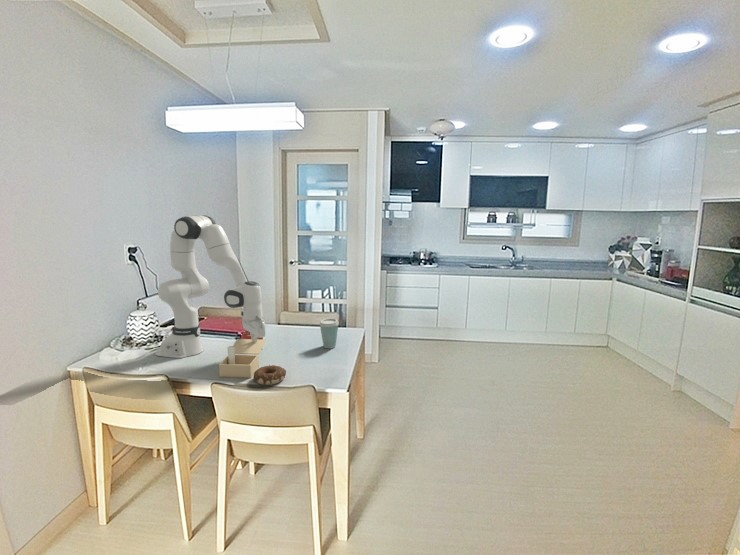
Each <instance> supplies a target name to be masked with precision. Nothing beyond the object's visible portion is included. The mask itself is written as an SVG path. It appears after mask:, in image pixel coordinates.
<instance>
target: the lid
mask: <svg viewBox="0 0 740 555" xmlns="http://www.w3.org/2000/svg"><path fill="white" fill-rule="evenodd" d="M265 343H266V339H263V340H262V339H257V342H253V341H252V339H241V338H237V339H236V340H235V342H234V344H233V345H232V346H234V347H235V355H260V354H261V351H263V348H264V345H265Z"/></svg>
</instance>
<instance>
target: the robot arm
mask: <svg viewBox="0 0 740 555" xmlns="http://www.w3.org/2000/svg"><path fill="white" fill-rule="evenodd" d="M173 229H174V230H173V231H172V232H171V236H170V243H169V252H170V253H169V254H170V255H169V256H170V265H171V267H172V269H174V270H175V271H176V272H180V274H181V278H176V279H174V278H173V279H169V280H167V281H164V282H162V283H160V284H159V286H158V289H157V295H158V297H159V299H160V300H161V301H163V302H164V303H166V304H168V306H169V307H170V308H171V310H172V313H173V317H174V318H173V319H174V326H172V327H171V328H170V329H169V330H170V332H172V333H171V334H169V335H168V336H167V337H166V338H164V339H163V340H162V341H161V343H160V348H159V349H158V350H157V351H156V352H155V356H156V357H157V356H158V357H166V358H174V359H183V358H186V357H190V356H192V357H193V356H196V355H198V354H201V353H203V351H204V347H203V344H202V340H201V327H200V323H199V322H200V321H199V311H198V309H197V308H196V307H195V306H192V305H190V304H189V302H188V300H190V299H196V298H200V297H202V296H204V295H206V294H207V293H208V291H209V290H210V283H209V281H208V280H207V278H206V277H204V276H203V274H201V273H200V272H199V269H198V267H197V262H196V252H195V251H196V249H195V242H196V240H197V239H200V240H202V241H203V243H204V246H205V250H206V252H207V254H208V256H209V259H210V260H211V262H213V264H215V265H217V266H220V267H224V268H225V269H227V270H228V271H229V272H230V273H231V276H232V278H233V280H234V283H235V285H236V287H233V288H230V289H228V290H227V291H226V292H224V295H223V301H224V303H225V305H226V306H227V307H229V308H230V309H237V308H242V309H243V310H241V311H240V315H241V320H242V322H241V323H242V327H243V329H244V330H246V331H247V332H248V333H250V335H251V339H252V341H253V342H257V337H258V338H261V337H263V338H264V337H266V326H265V322H264V321H263V320H262V319H263V316H264V315H263V305H262V300H263V296H262V295H263V293H262V288H261V285H260V284H259V283H258V282H256V281H252V280H251V281H250V280H249V279H248V277H247V274H246V271H244V268H243V266H242V264H241V261H240V259H239V258H238V257H237V255H236V254H235V252H234V250H233V248H232V246H231V242H230V240H229V238H228V235H227V234H226V232H225V230H224V228H223V227H222V226H221V225H220V224H217V223H216V222H215V220H214V219H213V218H212V217H211V216H208V215H200V214H199V215H197V214H196V215H195V214H194V215H189V216H182V217H179V218H178V219H176V221H175V222H174V226H173Z"/></svg>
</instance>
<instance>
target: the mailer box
mask: <svg viewBox="0 0 740 555" xmlns="http://www.w3.org/2000/svg"><path fill="white" fill-rule="evenodd" d="M259 360H260V359H259V354H235V347H234V346H233V345H229V346H227V356H226V357H225V358H223V360H222V361H221V362H220V363H219V364H218V369H219V370H218V371H219V373H218V374H219V378H232V379H235V378H236V379H238V378H239V379H240V378H241V379H252V377H254V372H255V371H256V370H258V369H259V368H260V364H259V363H260V362H259Z"/></svg>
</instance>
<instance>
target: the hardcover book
mask: <svg viewBox="0 0 740 555" xmlns="http://www.w3.org/2000/svg"><path fill="white" fill-rule="evenodd" d="M242 333H243V334H242ZM242 333H241V334H242V335H241V337H240V339H251V335H250V332H242ZM257 339H262V340H264V337H261V338H258V337H257Z"/></svg>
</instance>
